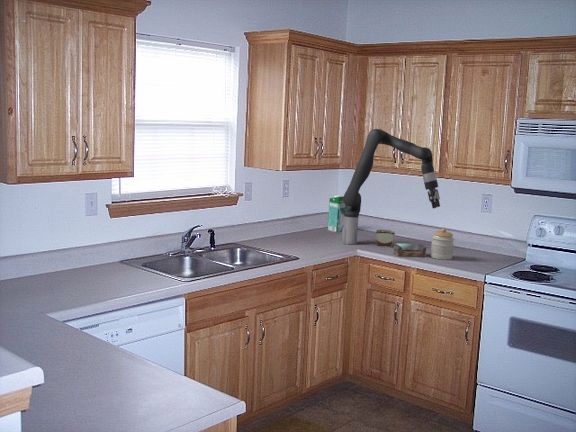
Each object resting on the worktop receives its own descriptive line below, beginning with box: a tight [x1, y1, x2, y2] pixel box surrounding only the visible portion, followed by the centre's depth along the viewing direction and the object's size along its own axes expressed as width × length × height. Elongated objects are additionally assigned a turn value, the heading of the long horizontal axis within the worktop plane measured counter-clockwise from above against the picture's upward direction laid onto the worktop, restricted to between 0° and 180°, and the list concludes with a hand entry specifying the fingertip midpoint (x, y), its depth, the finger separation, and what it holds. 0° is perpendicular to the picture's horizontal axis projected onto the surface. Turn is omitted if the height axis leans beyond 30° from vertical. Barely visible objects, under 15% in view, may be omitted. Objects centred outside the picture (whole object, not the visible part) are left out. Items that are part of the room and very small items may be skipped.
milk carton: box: [327, 195, 347, 233], centre depth 464 cm, size 9×9×25 cm
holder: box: [392, 243, 427, 258], centre depth 397 cm, size 17×9×6 cm, turn 98°
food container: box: [374, 229, 396, 248], centre depth 421 cm, size 12×6×10 cm, turn 84°
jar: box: [430, 227, 455, 261], centre depth 394 cm, size 13×13×18 cm
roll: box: [395, 243, 415, 250], centre depth 407 cm, size 10×5×5 cm, turn 98°
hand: (436, 207), depth 392 cm, fingers open, 8 cm apart
